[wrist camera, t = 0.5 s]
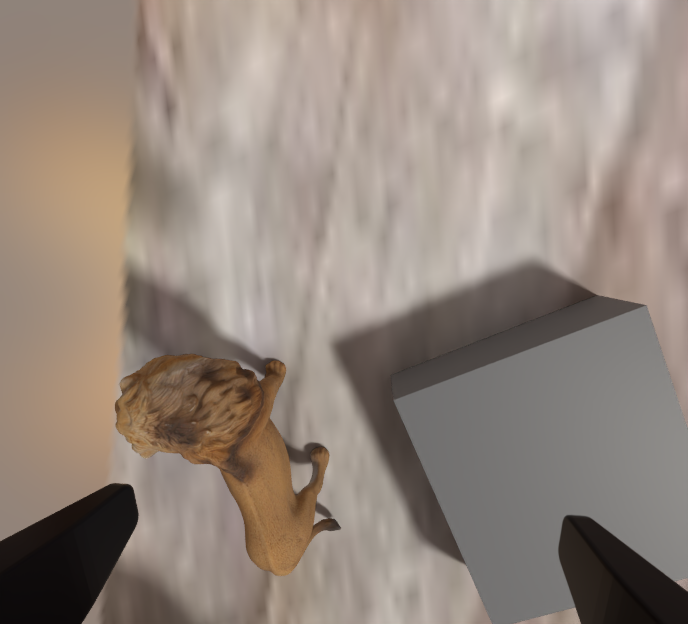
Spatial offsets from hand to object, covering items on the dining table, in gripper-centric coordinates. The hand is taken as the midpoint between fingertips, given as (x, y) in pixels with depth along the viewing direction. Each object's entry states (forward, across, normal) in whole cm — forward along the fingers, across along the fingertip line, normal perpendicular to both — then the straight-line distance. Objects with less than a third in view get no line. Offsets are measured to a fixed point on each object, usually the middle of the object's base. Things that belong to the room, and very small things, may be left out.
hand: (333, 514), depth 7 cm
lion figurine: (+13, +6, +6) cm, 16 cm away
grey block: (+14, -10, +7) cm, 18 cm away
